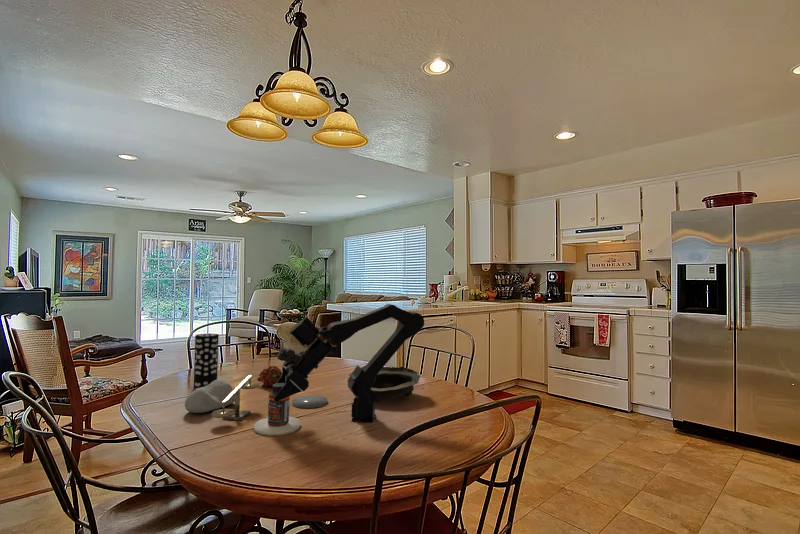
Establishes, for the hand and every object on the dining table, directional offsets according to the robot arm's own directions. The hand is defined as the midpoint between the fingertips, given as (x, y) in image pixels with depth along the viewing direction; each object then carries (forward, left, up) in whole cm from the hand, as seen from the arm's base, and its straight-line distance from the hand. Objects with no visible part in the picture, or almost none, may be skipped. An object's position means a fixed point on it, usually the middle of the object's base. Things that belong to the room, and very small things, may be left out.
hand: (273, 395), depth 121 cm
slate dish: (-2, -25, -9) cm, 26 cm away
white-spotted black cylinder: (+45, -37, -9) cm, 59 cm away
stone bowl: (-27, -38, -9) cm, 47 cm away
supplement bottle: (-1, -1, -8) cm, 8 cm away
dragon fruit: (+21, -43, -9) cm, 48 cm away
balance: (+15, -7, -9) cm, 19 cm away
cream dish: (-1, -1, -9) cm, 9 cm away
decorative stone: (+26, -12, -9) cm, 30 cm away
